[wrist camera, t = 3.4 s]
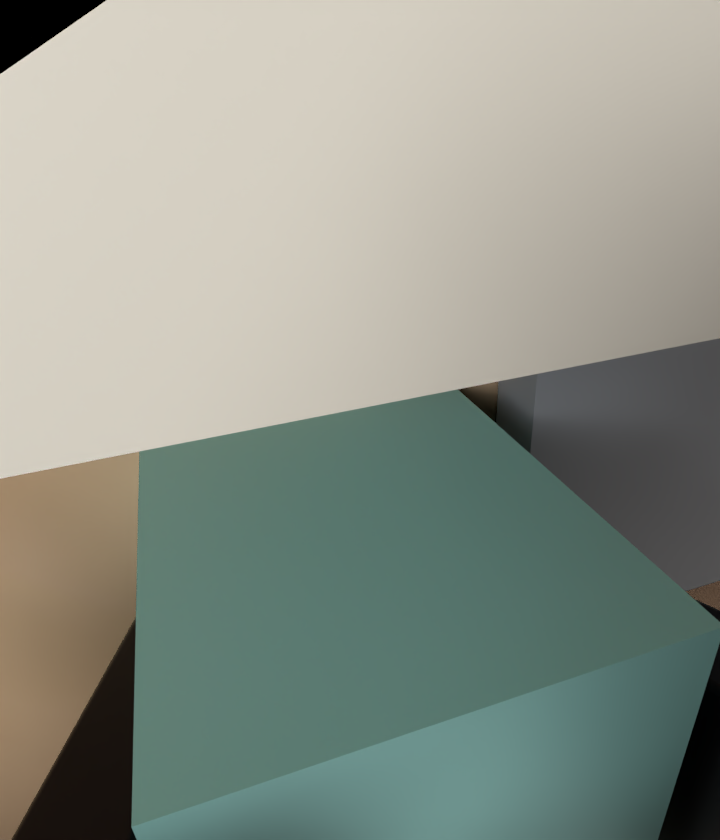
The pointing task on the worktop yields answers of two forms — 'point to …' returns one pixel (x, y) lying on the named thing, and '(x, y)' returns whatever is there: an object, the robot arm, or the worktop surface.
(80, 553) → the worktop surface
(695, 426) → the slate plate
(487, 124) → the cream block
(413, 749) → the teal block
